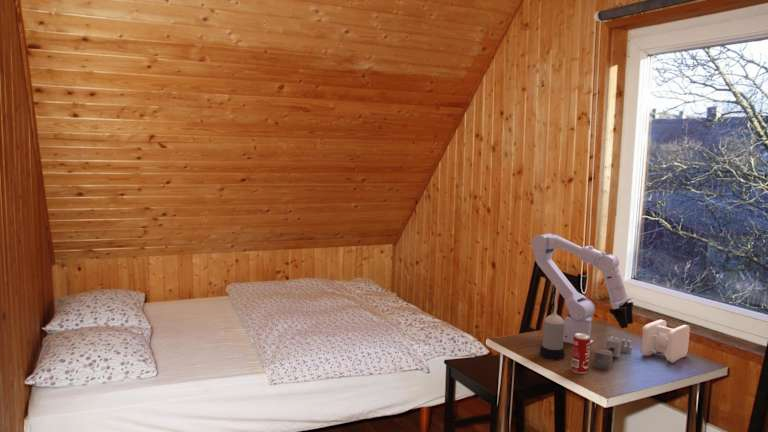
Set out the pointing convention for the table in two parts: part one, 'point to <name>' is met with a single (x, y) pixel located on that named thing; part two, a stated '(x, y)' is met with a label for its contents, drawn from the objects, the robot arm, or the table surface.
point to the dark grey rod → (609, 350)
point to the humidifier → (553, 335)
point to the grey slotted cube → (614, 346)
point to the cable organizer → (665, 340)
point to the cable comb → (625, 346)
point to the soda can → (580, 353)
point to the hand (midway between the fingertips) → (627, 325)
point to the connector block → (603, 359)
